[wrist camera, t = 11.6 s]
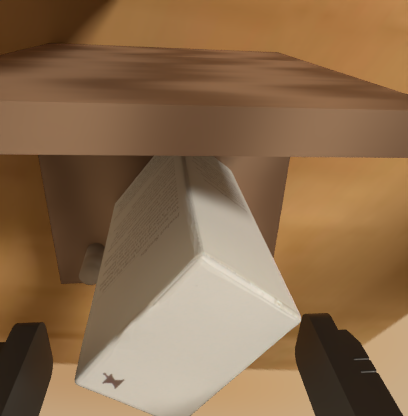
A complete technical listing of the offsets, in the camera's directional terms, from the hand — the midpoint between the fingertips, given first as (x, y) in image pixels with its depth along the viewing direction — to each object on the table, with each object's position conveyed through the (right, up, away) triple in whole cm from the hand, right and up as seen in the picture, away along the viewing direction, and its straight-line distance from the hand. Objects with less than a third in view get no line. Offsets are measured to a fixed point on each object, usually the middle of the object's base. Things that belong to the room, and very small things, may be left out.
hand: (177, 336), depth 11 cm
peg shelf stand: (-2, +8, +14) cm, 16 cm away
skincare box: (-1, +5, +10) cm, 11 cm away
